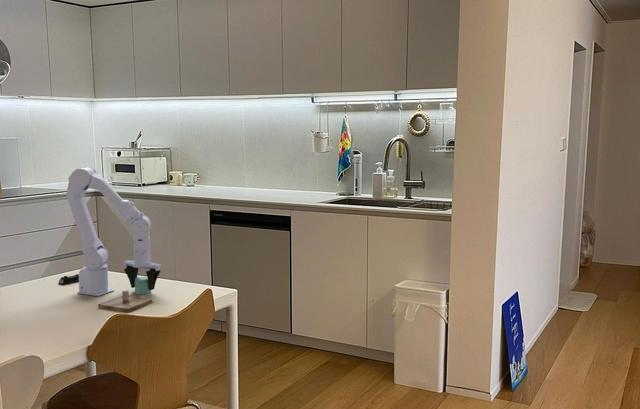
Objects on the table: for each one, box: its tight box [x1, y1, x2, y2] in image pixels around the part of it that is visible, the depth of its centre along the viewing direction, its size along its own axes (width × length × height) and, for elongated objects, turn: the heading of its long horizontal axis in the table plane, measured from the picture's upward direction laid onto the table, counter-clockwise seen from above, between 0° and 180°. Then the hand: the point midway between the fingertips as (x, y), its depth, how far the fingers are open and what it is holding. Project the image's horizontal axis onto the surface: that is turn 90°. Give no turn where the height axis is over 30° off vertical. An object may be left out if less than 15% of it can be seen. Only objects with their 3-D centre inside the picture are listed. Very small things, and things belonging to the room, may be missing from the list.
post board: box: [97, 289, 153, 313], centre depth 198 cm, size 12×12×5 cm
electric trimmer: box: [58, 273, 79, 286], centre depth 228 cm, size 4×16×3 cm, turn 143°
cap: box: [134, 276, 152, 295], centre depth 213 cm, size 5×5×5 cm
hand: (142, 288), depth 213 cm, fingers open, 7 cm apart
